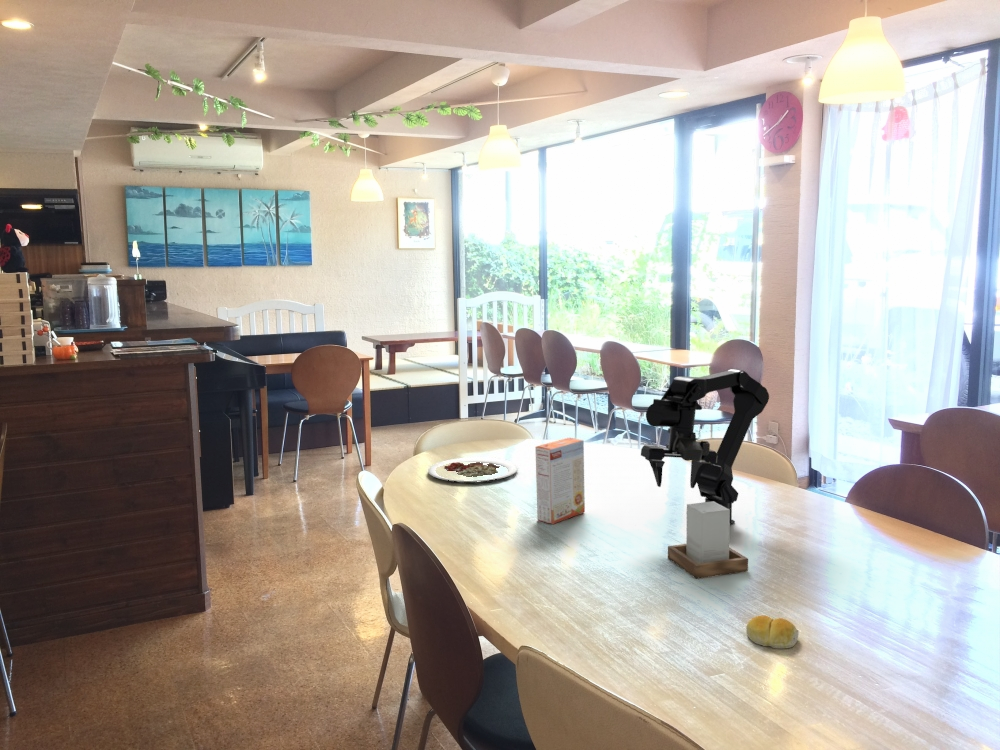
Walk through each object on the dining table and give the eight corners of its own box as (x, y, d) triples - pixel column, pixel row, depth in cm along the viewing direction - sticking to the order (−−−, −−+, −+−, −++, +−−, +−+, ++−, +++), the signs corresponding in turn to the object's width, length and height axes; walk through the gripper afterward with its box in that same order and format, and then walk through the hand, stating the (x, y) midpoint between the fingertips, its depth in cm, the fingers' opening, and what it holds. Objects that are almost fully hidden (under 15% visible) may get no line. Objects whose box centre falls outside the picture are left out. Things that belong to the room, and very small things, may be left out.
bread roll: (752, 625, 154) (752, 605, 153) (801, 636, 149) (801, 615, 149) (740, 642, 147) (740, 622, 146) (790, 654, 142) (791, 633, 142)
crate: (716, 551, 192) (716, 539, 191) (747, 571, 180) (748, 558, 179) (667, 558, 188) (667, 546, 188) (696, 578, 176) (696, 565, 176)
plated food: (518, 485, 253) (518, 475, 252) (423, 487, 253) (423, 476, 253) (517, 461, 282) (517, 452, 282) (432, 463, 283) (432, 453, 282)
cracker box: (569, 508, 227) (568, 436, 224) (585, 513, 223) (585, 439, 220) (535, 520, 218) (534, 445, 215) (552, 525, 213) (551, 448, 210)
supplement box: (730, 563, 182) (731, 509, 181) (700, 566, 181) (701, 512, 179) (713, 552, 190) (714, 500, 188) (685, 555, 188) (685, 503, 186)
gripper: (661, 429, 193) (655, 493, 194) (731, 433, 197) (724, 496, 198) (643, 422, 203) (636, 483, 205) (709, 426, 208) (703, 486, 209)
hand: (675, 487), depth 204 cm, fingers open, 9 cm apart
